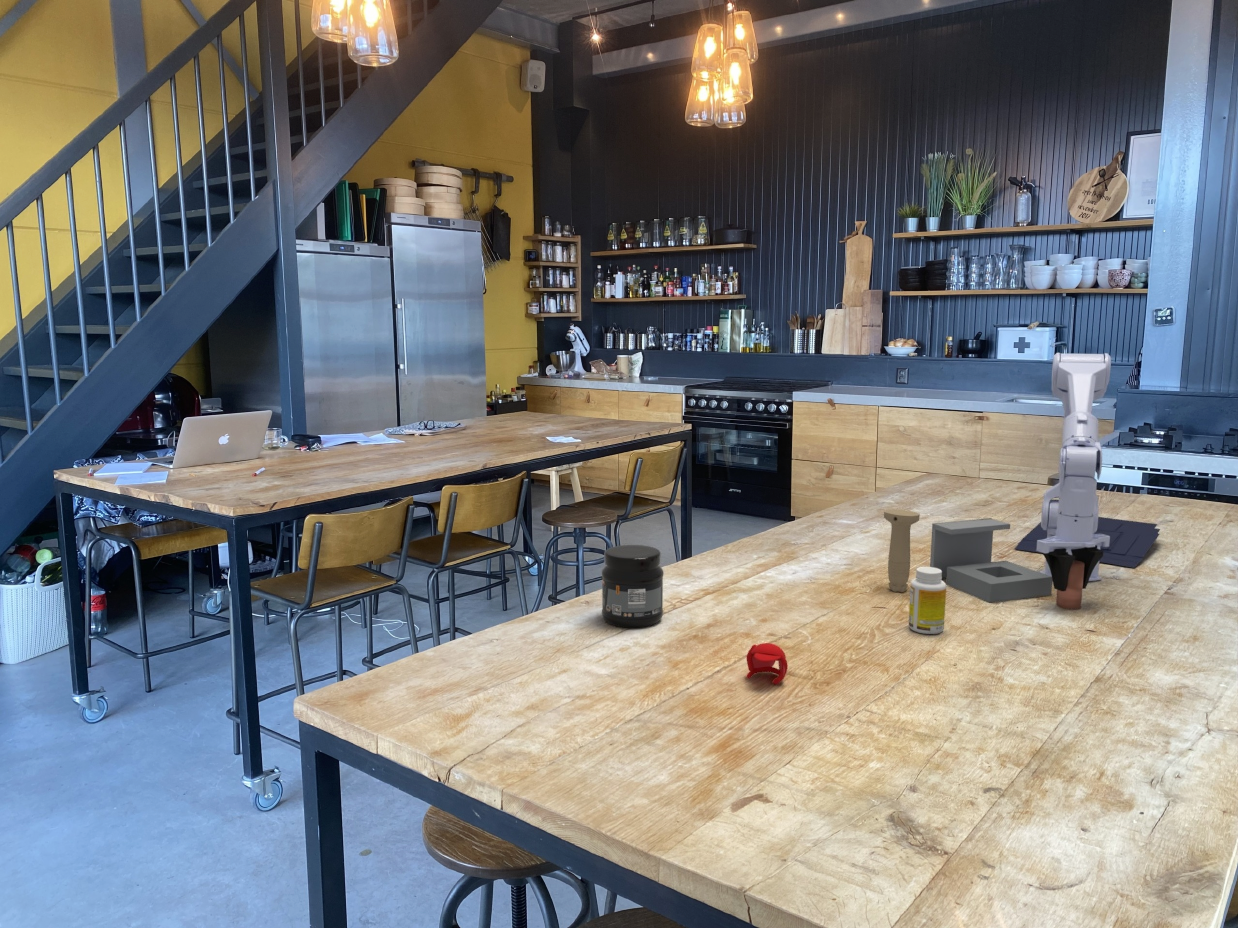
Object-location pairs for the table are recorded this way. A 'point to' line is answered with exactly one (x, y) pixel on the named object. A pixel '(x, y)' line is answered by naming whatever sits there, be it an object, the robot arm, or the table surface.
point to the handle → (899, 547)
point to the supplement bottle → (927, 601)
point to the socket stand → (982, 563)
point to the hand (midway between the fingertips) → (1069, 588)
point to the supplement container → (632, 586)
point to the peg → (1072, 588)
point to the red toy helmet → (767, 660)
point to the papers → (1124, 541)
